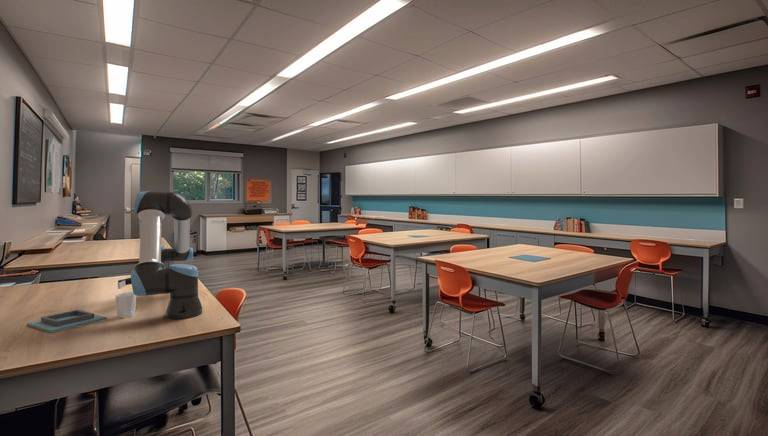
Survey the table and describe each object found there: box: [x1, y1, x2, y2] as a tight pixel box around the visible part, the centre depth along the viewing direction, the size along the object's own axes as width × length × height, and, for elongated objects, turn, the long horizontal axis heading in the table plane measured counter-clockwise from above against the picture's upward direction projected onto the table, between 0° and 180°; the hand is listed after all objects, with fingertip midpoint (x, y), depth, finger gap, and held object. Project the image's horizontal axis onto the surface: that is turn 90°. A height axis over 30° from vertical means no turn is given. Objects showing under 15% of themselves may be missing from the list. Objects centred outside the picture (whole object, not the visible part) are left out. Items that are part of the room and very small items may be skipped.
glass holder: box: [26, 309, 108, 334], centre depth 162 cm, size 20×20×3 cm
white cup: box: [115, 291, 137, 319], centre depth 172 cm, size 8×8×10 cm
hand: (134, 285), depth 181 cm, fingers open, 13 cm apart
